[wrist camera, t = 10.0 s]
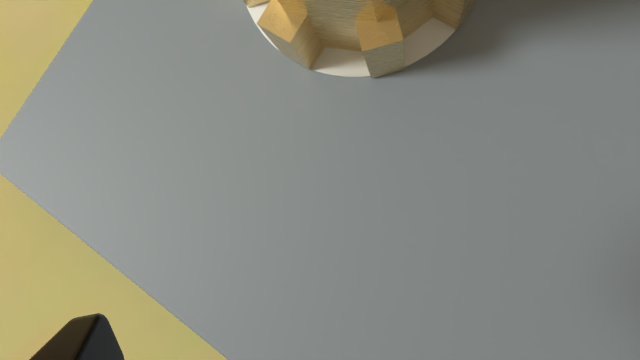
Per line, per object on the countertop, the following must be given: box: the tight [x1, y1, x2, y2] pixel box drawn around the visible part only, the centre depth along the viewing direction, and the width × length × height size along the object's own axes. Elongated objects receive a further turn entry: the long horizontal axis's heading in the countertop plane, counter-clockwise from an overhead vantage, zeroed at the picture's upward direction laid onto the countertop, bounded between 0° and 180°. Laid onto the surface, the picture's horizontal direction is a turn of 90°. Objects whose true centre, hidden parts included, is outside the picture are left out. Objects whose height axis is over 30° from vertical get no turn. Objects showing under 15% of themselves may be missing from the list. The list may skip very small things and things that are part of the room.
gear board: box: [0, 0, 640, 360], centre depth 17 cm, size 24×20×4 cm
